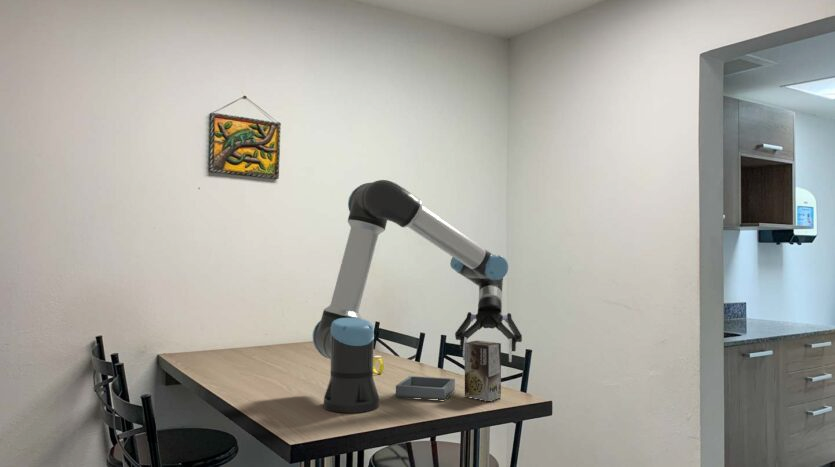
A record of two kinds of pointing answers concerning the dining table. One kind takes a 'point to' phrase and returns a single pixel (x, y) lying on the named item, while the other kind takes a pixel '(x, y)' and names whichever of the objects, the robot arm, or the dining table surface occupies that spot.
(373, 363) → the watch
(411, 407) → the dining table surface
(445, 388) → the tray
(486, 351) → the coffee box
